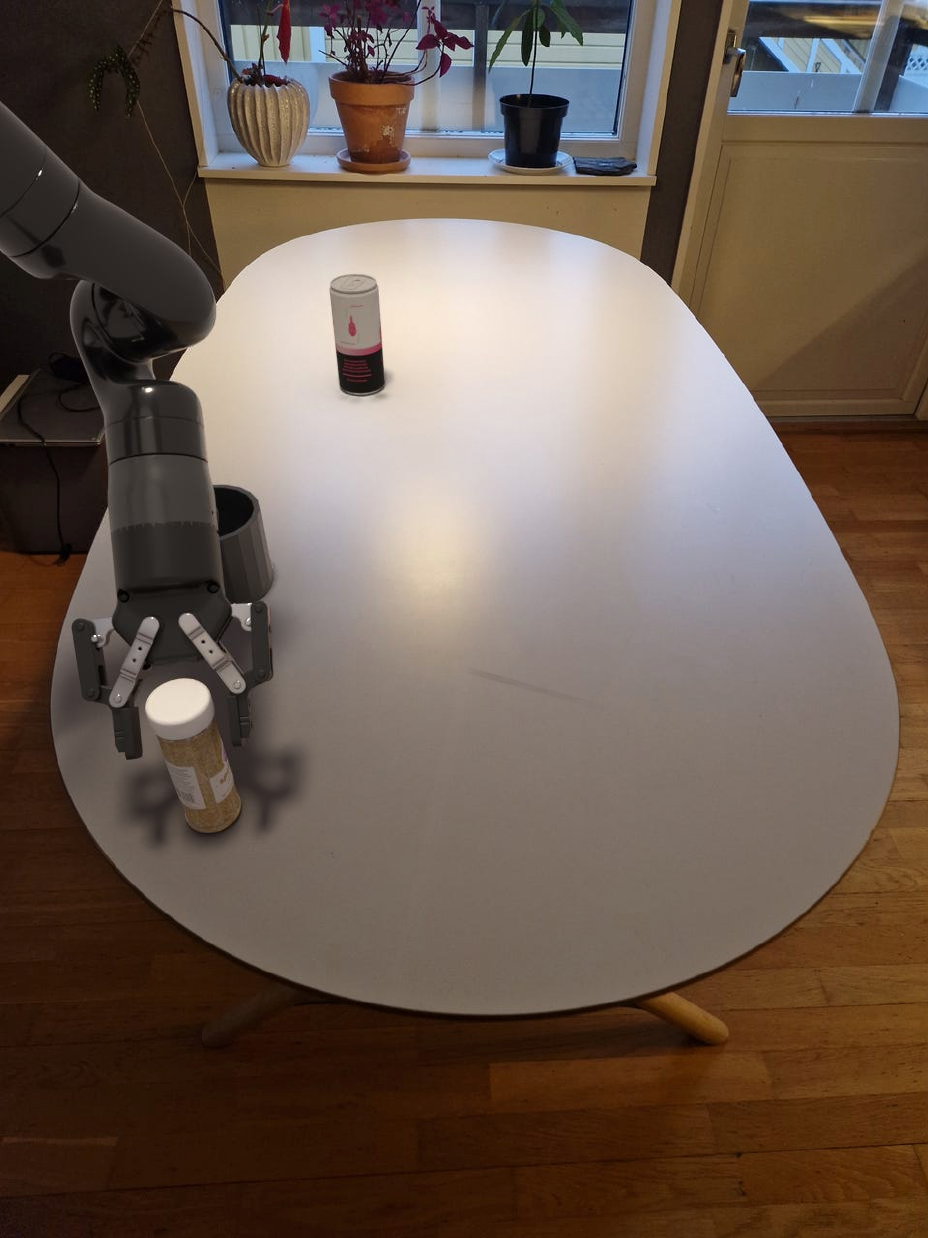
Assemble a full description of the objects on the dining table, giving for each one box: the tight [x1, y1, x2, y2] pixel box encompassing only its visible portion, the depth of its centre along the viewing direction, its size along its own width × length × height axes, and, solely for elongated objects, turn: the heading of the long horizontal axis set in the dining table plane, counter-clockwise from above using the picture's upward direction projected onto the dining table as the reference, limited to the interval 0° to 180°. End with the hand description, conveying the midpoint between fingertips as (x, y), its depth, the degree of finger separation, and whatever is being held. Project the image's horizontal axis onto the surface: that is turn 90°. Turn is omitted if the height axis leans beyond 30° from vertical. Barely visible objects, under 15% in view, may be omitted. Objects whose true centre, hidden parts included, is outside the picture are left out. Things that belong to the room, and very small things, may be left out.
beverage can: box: [329, 273, 386, 396], centre depth 120 cm, size 7×6×15 cm
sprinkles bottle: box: [144, 677, 242, 834], centre depth 65 cm, size 5×5×13 cm
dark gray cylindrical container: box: [213, 484, 274, 604], centre depth 89 cm, size 10×10×9 cm
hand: (187, 751), depth 63 cm, fingers open, 7 cm apart
